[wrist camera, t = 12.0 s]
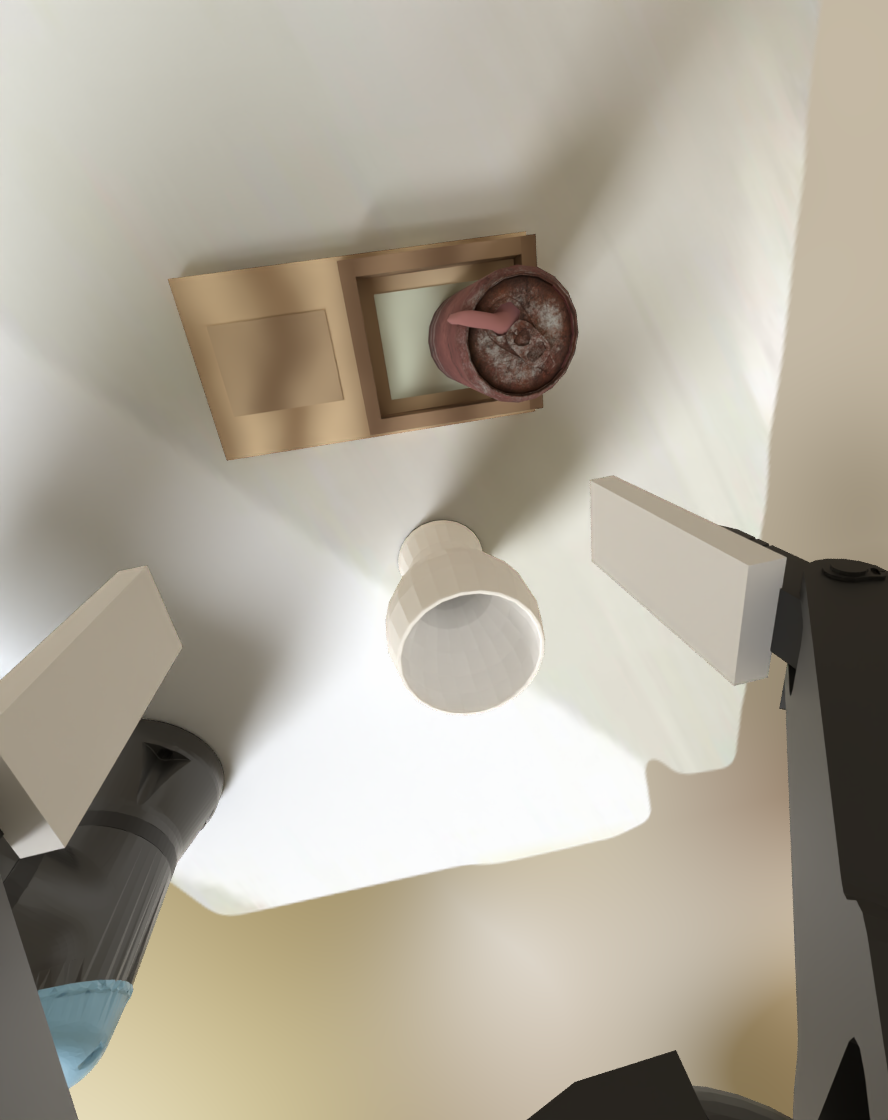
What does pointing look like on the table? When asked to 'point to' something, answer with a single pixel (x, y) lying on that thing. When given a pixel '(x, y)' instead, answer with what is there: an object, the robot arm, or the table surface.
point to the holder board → (336, 344)
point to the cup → (461, 623)
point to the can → (506, 334)
